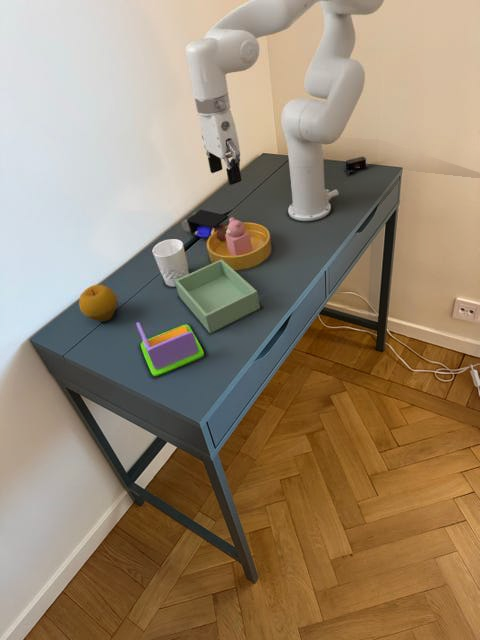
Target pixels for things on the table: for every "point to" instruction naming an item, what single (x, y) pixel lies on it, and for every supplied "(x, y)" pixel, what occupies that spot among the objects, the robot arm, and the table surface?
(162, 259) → the white cup
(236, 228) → the toy bear
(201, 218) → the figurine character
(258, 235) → the bowl
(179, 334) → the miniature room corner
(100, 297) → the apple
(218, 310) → the tub
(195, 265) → the table surface
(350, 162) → the wireless earbuds
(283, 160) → the table surface
